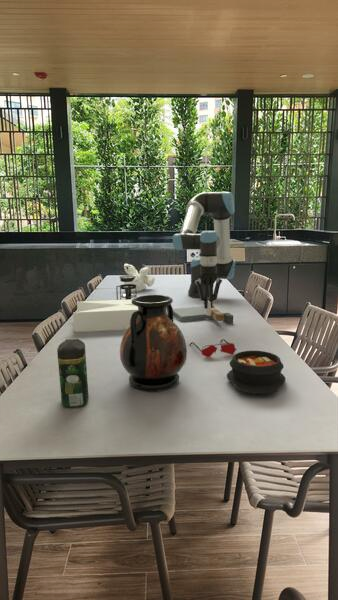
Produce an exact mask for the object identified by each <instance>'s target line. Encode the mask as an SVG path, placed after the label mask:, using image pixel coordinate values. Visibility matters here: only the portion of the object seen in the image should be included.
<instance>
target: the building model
mask: <svg viewBox="0 0 338 600" xmlns="http://www.w3.org/2000/svg"><path fill="white" fill-rule="evenodd" d="M132 299H133V298H131V299H129V300H125V299H121V300H120V299H118V300H117V299H113V300H112V299H111V300H110V299H108V300H107V299H106V300H87V301H85V300H84V301H76V308H77V311H75V312H72V316H73V317H72V318H73V319H72V321H73V329H74V330H73V332H74V333H79V332H81V333H83V332H98V331H100V332H101V331H103V332H104V331H117V330H118V331H119V330H127V328H128V327H129V326H130V319H131V316H132V314H133V312H135V311H138V307H137V306H135V305H133V304H132V302H131V301H132ZM166 313H167V315H168V312H167V307H166Z"/></svg>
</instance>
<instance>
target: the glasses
mask: <svg viewBox="0 0 338 600" xmlns="http://www.w3.org/2000/svg"><path fill="white" fill-rule="evenodd" d="M222 342H225V343H222ZM188 345H189V346H191V345H194V346H195V347H196V348H197V349H198V350H199V351H200V352H201V355H202V356H205V357H206V358H210V357H212V355H213V354H214V353H216V352H217V350H218V347H216V346H220V349H219V351H220V353H225V354H229V355H234V353H235V352H236V350H237V348H236V347H235V344H234V343H232V342H230V343H229V342H228V341H227V340H225V339H224V338H223V339H221V340H220V343H219V344H217V343H216V345H215V344H210V345H205V346H203V347H202V348H201V349H200V348H199V346H198V345H197V344H196V343H195V342H193V341H192V342H190V344H188ZM205 347H206V348H205Z"/></svg>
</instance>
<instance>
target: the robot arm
mask: <svg viewBox="0 0 338 600" xmlns="http://www.w3.org/2000/svg"><path fill="white" fill-rule="evenodd" d="M235 210H236V209H235V199H234V195H233V193H232V192H230V191H203V192H200V193H198V194H196V195H194V196H193V197H192V198H190V199H189V201H188V202H187V203H186V208H185V212H186V213H185V216H184V218H183V219H184V220H183V222H182V224H181V228H180V231H179V233H175V234H173V235H172V247H173V248H174V249H175V250H182V251H183V250H185V251H186V250H198V251H199V250H200V257H196V258H192V259H191V260H190V285H189V289H188V292H187V296H189V297H190V298H197V299H198V298H199V299H200V301H202V302H203V306H204V308H205V309H206V315H208V316H211V308H212V307H213V306H214V305H213V304H214V303H213V302H214V301H216V300H217V299H218V295H219V291H220V287H221V284H222V282H223V280H232V279H233V278H234V274H235V268H236V261H237V260H236V259H235V258H234V257H233V255H232V254H231V237H230V236H231V235H230V234H231V232H230V230H231V229H230V219H231V218H232V216H233V214H235V212H236V211H235ZM203 215H210V218H211V219H212V220H213V228H214V229H213V230H202V231H200V233H197V230H198V226H199V223H200V219H201V217H202V216H203ZM214 284H215V285H214Z"/></svg>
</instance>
